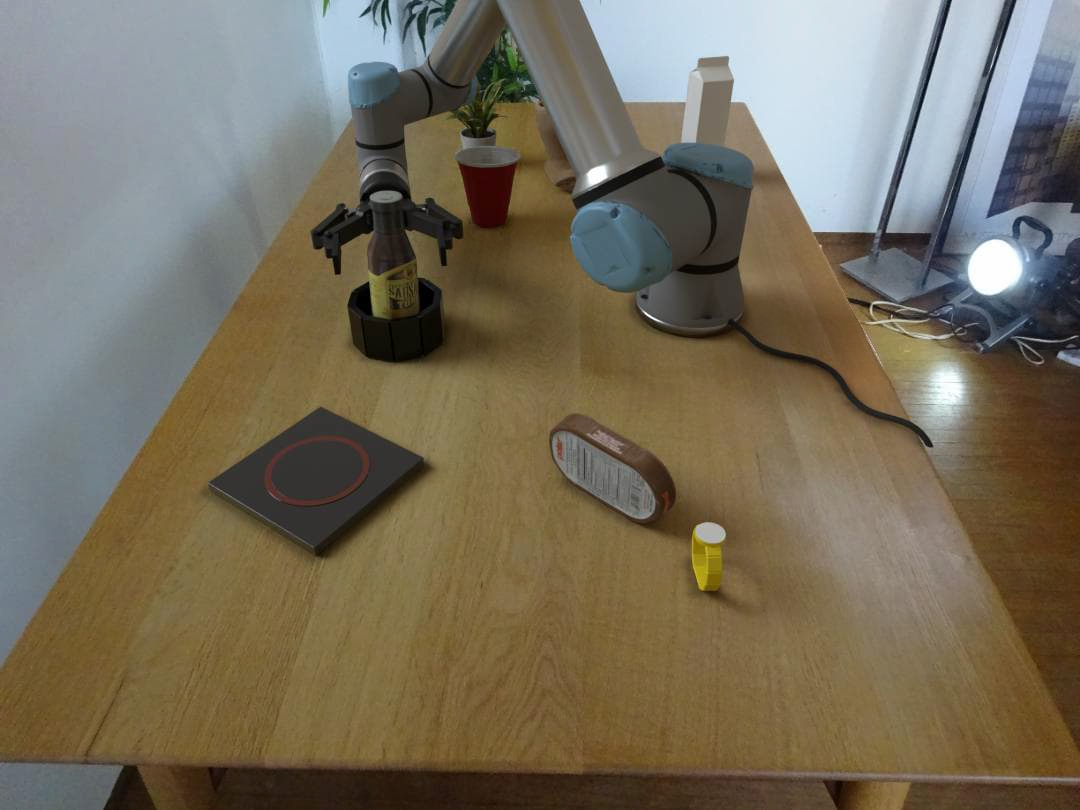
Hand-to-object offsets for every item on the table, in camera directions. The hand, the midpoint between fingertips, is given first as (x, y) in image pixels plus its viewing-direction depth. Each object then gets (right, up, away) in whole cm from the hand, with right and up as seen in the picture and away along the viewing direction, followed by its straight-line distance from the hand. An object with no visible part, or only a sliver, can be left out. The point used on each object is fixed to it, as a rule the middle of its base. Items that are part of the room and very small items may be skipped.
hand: (390, 261), depth 103 cm
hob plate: (-5, -26, -16) cm, 31 cm away
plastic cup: (+11, +13, +35) cm, 39 cm away
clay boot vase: (+24, +24, +50) cm, 60 cm away
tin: (+26, -28, -18) cm, 43 cm away
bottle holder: (0, -9, +6) cm, 11 cm away
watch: (+35, -35, -27) cm, 56 cm away
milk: (+49, +25, +51) cm, 75 cm away
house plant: (+8, +30, +57) cm, 65 cm away
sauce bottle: (0, -9, +6) cm, 11 cm away
